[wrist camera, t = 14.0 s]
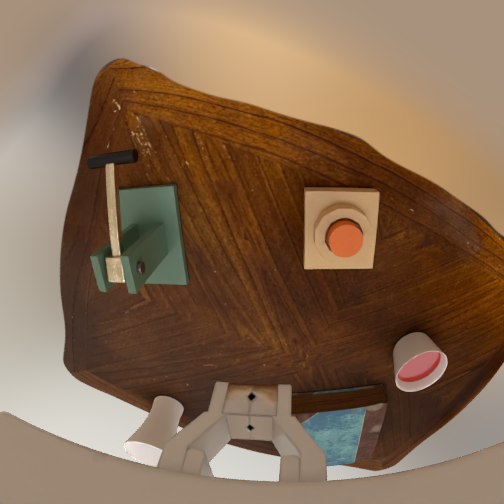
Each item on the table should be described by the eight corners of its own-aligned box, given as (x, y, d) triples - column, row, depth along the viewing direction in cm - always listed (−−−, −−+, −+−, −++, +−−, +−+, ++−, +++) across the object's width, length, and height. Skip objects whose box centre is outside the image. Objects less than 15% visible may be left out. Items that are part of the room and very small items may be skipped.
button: (327, 219, 34) (329, 224, 33) (361, 219, 34) (364, 224, 32) (326, 251, 36) (328, 258, 34) (358, 251, 36) (361, 257, 34)
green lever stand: (117, 189, 39) (66, 215, 28) (176, 183, 38) (136, 209, 27) (134, 279, 45) (97, 324, 34) (189, 280, 44) (161, 330, 33)
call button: (303, 187, 37) (306, 194, 33) (374, 188, 36) (384, 195, 32) (303, 261, 41) (304, 275, 37) (368, 261, 40) (375, 274, 36)
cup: (187, 424, 59) (172, 474, 47) (143, 407, 59) (122, 455, 46) (198, 401, 55) (182, 456, 43) (148, 381, 54) (124, 434, 42)
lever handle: (96, 157, 31) (84, 156, 29) (140, 150, 30) (130, 148, 28) (105, 275, 34) (95, 281, 32) (148, 277, 33) (139, 283, 31)
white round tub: (388, 371, 48) (396, 397, 42) (384, 335, 45) (394, 362, 39) (433, 356, 46) (445, 380, 40) (434, 318, 43) (448, 343, 37)
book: (368, 443, 58) (371, 460, 53) (294, 451, 60) (294, 468, 56) (383, 383, 49) (389, 403, 44) (289, 393, 52) (288, 414, 47)
